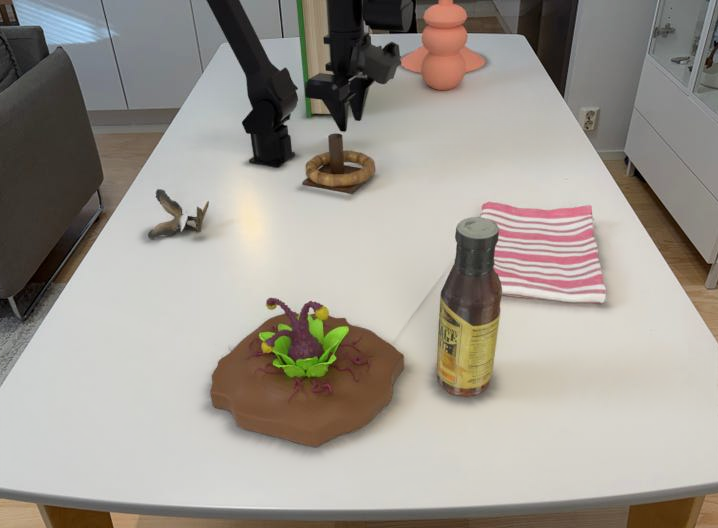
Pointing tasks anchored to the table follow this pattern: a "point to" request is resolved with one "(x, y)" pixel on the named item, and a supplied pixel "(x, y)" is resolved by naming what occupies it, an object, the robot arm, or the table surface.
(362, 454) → the table surface
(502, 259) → the dish towel
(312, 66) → the hardback book
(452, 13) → the ceramic vessels
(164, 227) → the eagle figurine
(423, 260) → the table surface
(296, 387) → the plant
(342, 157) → the peg stand
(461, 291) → the sauce bottle
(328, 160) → the segmented tan ring
